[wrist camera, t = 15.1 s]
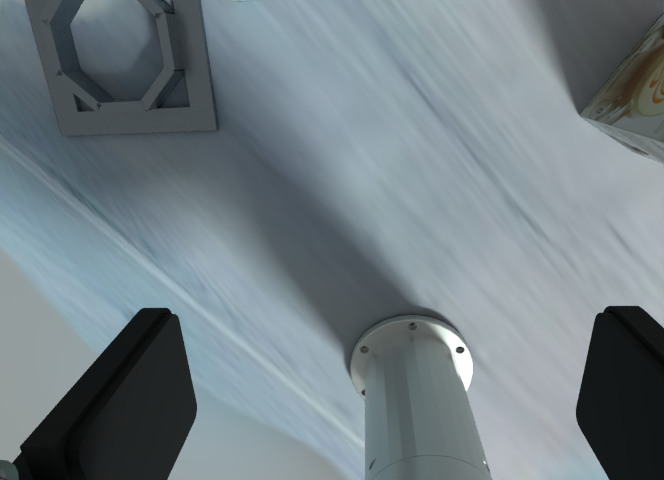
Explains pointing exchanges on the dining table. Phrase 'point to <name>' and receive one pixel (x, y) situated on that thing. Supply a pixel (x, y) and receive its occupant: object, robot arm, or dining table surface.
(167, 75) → the square bottle holder
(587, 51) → the dining table surface
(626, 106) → the coffee box
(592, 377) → the robot arm
